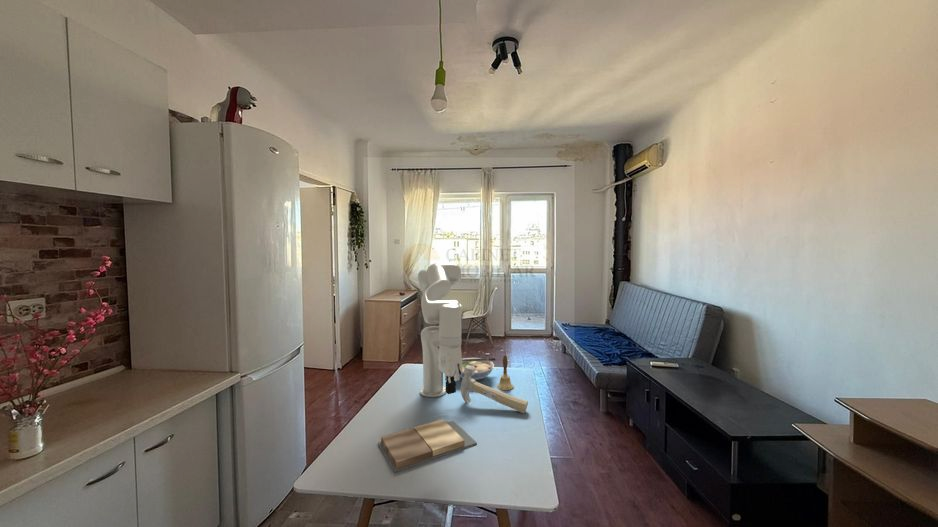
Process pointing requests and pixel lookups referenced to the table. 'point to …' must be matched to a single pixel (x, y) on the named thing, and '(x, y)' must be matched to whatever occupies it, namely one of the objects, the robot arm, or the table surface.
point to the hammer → (488, 392)
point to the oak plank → (439, 437)
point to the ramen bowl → (478, 367)
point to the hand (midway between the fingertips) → (450, 392)
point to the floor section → (414, 447)
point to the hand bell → (505, 377)
